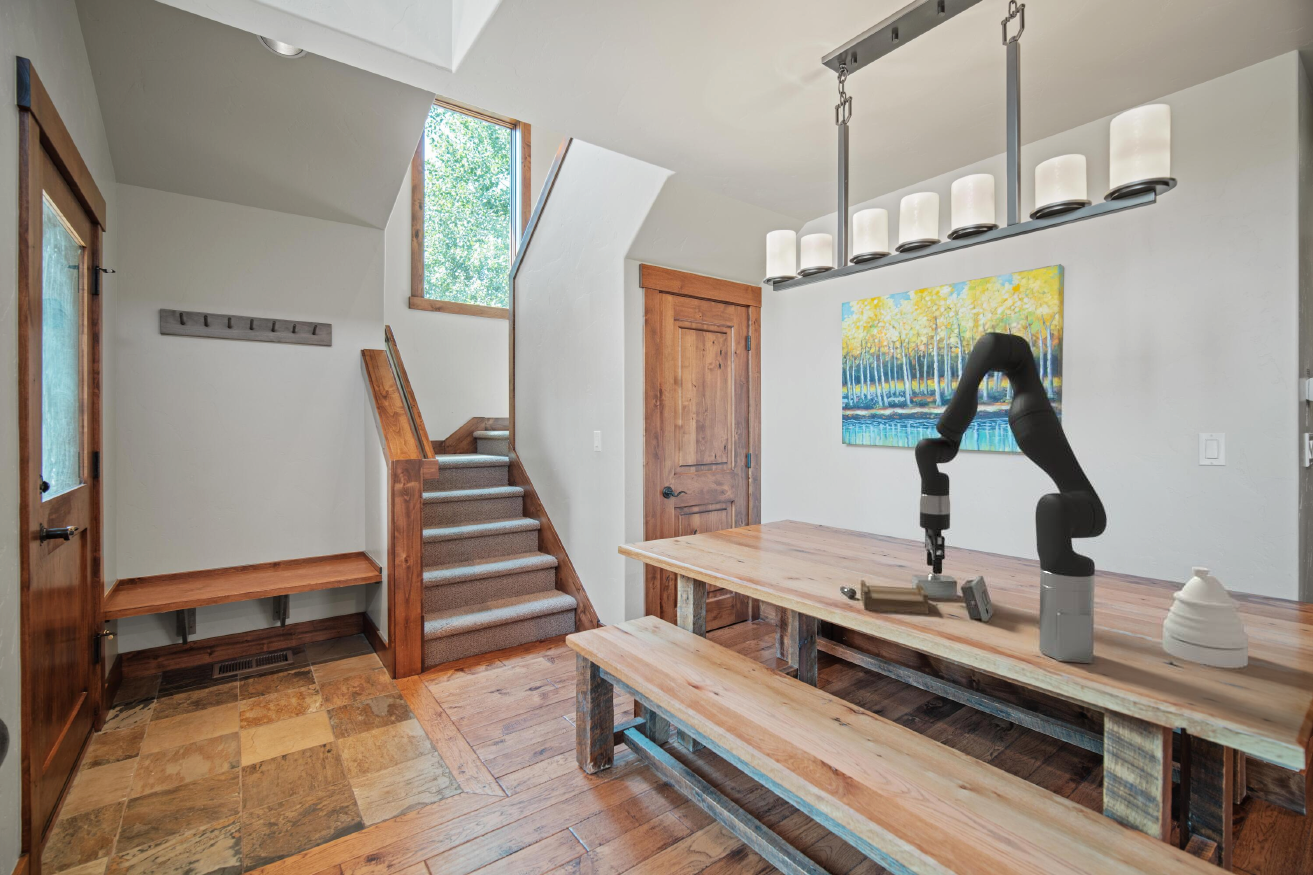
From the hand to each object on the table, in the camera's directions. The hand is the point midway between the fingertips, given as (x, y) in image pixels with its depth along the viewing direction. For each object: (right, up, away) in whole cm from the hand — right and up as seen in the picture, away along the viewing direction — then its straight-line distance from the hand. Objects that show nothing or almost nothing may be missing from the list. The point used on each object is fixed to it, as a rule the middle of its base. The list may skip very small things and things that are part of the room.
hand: (934, 569), depth 165 cm
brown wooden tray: (-14, -7, -8) cm, 18 cm away
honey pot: (+36, -8, -42) cm, 56 cm away
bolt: (-24, -7, +1) cm, 25 cm away
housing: (0, -7, 0) cm, 7 cm away
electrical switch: (+3, -8, -17) cm, 19 cm away
